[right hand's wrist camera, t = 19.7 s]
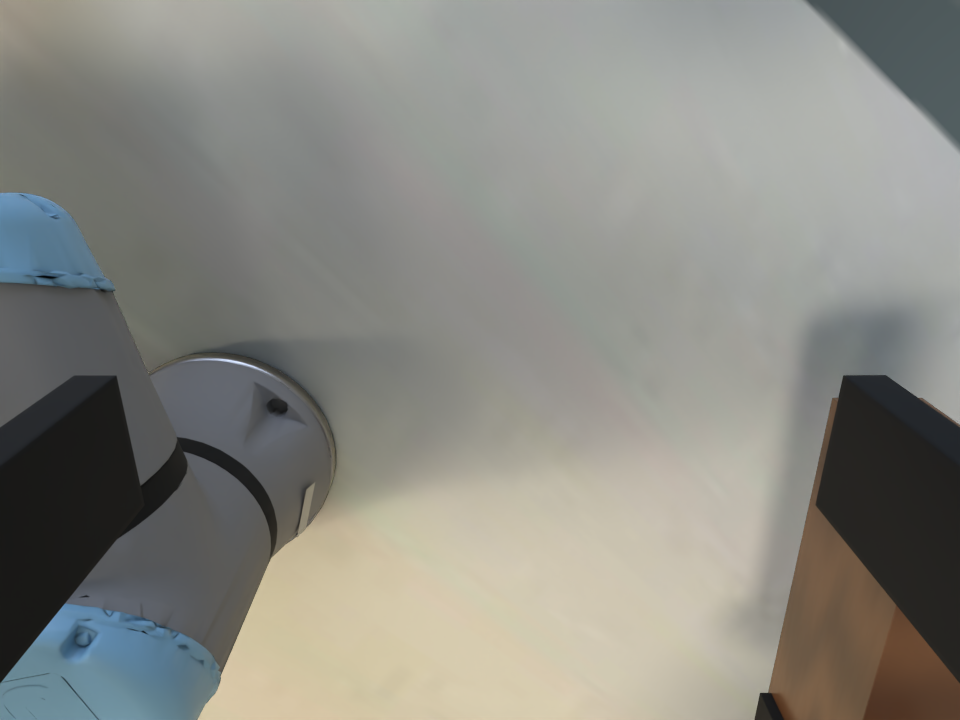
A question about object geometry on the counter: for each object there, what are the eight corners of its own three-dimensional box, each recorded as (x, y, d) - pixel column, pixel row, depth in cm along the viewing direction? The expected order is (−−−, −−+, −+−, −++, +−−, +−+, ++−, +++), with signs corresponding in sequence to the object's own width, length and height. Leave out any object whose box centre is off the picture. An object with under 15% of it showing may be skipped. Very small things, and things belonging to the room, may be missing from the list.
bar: (830, 732, 47) (904, 871, 39) (759, 732, 47) (818, 871, 39) (922, 397, 38) (1048, 486, 29) (832, 397, 38) (931, 486, 29)
